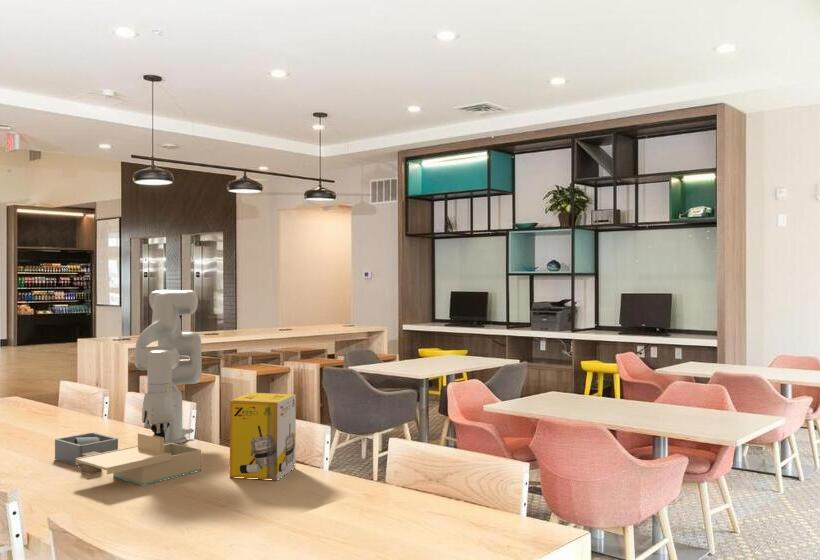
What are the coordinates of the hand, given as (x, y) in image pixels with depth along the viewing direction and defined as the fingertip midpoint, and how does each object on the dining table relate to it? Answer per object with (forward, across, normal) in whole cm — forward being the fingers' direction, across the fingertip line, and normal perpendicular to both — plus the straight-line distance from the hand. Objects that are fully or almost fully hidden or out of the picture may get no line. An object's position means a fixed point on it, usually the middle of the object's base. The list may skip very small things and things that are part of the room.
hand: (159, 444), depth 249 cm
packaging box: (+10, -22, +26) cm, 35 cm away
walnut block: (+10, +12, -19) cm, 25 cm away
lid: (+3, +13, 0) cm, 13 cm away
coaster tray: (+10, +4, -36) cm, 38 cm away
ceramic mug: (+10, +4, -38) cm, 39 cm away
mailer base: (+10, 0, 0) cm, 10 cm away
